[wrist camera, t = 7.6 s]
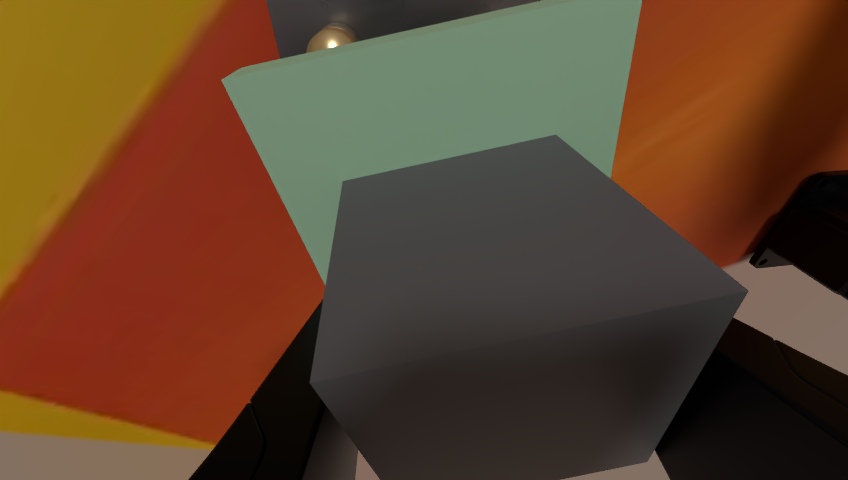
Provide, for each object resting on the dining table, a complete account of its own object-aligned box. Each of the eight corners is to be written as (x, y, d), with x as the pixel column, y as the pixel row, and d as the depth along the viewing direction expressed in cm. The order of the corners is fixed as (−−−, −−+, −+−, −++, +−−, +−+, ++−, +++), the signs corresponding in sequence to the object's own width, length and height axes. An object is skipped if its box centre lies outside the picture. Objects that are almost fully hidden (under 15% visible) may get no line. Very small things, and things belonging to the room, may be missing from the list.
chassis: (568, -33, 12) (630, -39, 9) (517, 244, 19) (542, 289, 16) (267, -27, 11) (231, -32, 8) (334, 261, 18) (327, 311, 15)
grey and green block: (608, -15, 7) (1129, -18, 2) (568, 300, 13) (684, 488, 8) (241, 67, 7) (-41, 238, 2) (369, 343, 13) (365, 552, 8)
